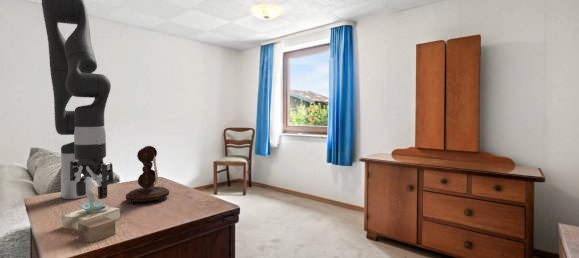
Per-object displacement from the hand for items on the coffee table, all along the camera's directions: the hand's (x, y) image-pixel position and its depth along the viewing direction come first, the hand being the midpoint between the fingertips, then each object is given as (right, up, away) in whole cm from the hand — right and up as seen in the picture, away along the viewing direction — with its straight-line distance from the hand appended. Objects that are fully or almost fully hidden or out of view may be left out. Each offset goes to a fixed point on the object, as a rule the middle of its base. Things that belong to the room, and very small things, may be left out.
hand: (91, 196), depth 83 cm
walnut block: (+8, -8, -9) cm, 14 cm away
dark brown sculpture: (+5, -7, +24) cm, 25 cm away
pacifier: (+1, -5, +1) cm, 5 cm away
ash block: (0, -8, 0) cm, 8 cm away
